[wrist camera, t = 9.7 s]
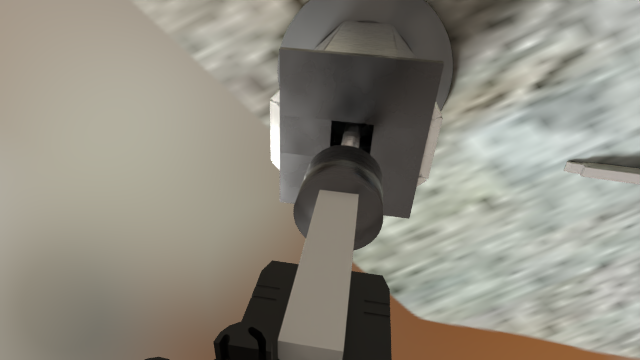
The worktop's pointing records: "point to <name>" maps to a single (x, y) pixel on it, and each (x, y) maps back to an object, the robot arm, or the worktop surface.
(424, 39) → the trivet
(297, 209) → the plunger
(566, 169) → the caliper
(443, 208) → the worktop surface
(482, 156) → the worktop surface
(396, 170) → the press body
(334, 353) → the robot arm
